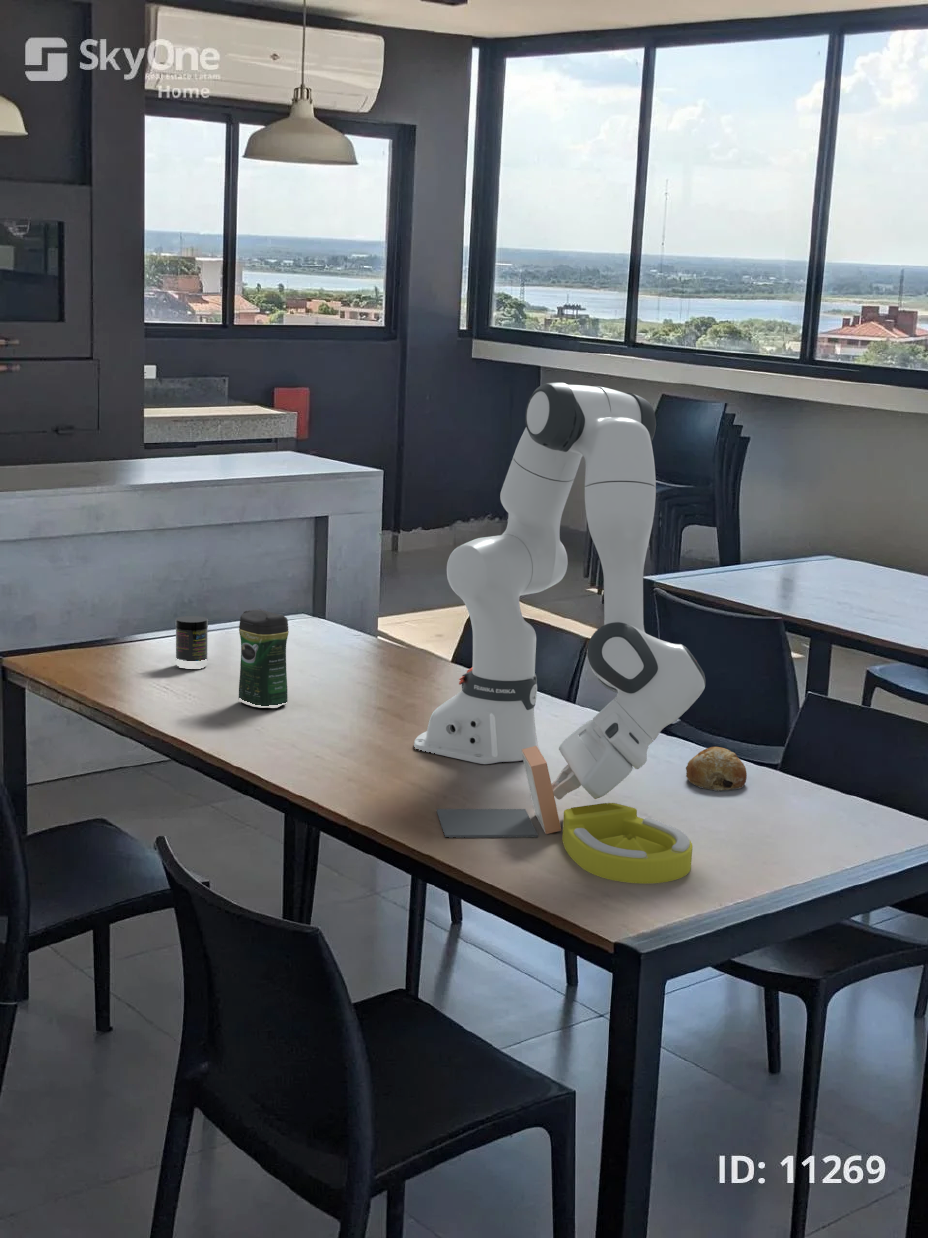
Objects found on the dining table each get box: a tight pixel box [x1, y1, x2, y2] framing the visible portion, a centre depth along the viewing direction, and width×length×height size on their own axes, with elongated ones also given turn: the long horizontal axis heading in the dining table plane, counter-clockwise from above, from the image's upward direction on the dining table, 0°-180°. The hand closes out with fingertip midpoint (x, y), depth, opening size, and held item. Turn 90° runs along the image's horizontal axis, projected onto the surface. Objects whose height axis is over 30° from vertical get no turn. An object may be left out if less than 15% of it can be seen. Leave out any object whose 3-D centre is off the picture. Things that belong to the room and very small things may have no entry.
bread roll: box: [685, 746, 748, 792], centre depth 259 cm, size 10×10×8 cm
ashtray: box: [561, 802, 693, 884], centre depth 222 cm, size 16×21×5 cm
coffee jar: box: [238, 608, 289, 706], centre depth 296 cm, size 10×8×19 cm
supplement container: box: [175, 615, 209, 661], centre depth 325 cm, size 7×7×10 cm
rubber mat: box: [436, 808, 539, 839], centre depth 234 cm, size 14×12×1 cm
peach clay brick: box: [522, 746, 562, 835], centre depth 234 cm, size 2×9×11 cm, turn 7°
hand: (553, 794), depth 234 cm, fingers closed
